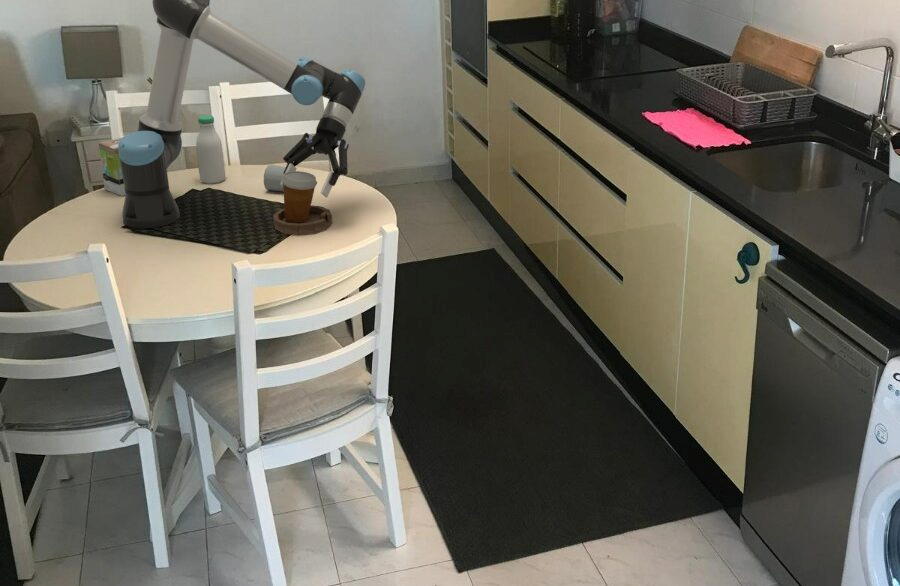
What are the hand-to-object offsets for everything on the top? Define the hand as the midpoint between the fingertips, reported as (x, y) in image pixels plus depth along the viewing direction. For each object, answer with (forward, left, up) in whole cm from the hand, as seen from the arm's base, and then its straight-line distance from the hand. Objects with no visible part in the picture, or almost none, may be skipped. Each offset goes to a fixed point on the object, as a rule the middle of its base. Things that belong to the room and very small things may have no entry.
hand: (303, 190), depth 259 cm
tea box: (-46, +46, -10) cm, 66 cm away
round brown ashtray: (-1, 0, -10) cm, 10 cm away
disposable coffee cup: (-2, +2, -8) cm, 9 cm away
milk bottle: (-23, +46, -10) cm, 52 cm away
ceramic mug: (-3, +32, -10) cm, 34 cm away
